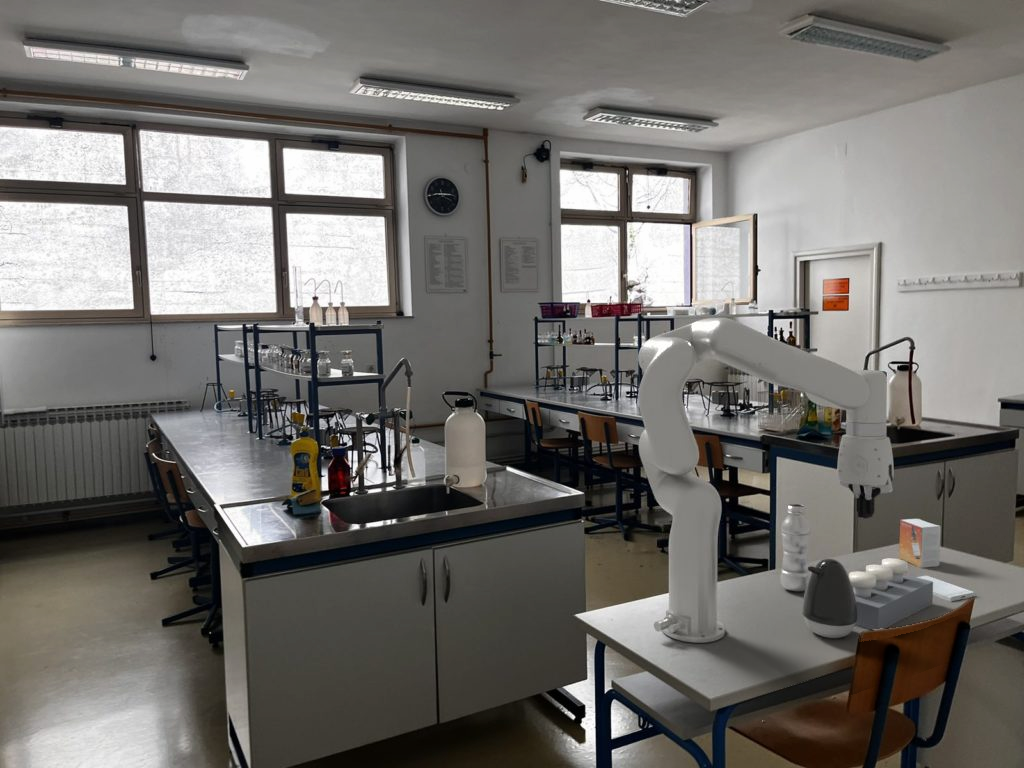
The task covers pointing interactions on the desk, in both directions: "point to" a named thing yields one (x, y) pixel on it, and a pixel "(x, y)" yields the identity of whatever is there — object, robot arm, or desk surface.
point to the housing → (894, 602)
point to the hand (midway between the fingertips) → (865, 516)
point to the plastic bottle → (795, 549)
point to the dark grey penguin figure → (829, 600)
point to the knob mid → (880, 576)
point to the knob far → (896, 569)
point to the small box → (919, 542)
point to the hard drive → (948, 590)
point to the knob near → (862, 583)
